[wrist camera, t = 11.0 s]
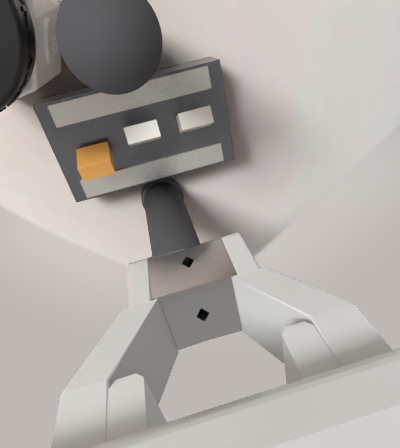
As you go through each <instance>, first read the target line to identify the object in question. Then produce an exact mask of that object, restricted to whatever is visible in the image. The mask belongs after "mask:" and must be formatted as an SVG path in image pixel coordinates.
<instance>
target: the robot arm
mask: <svg viewBox="0 0 400 448" xmlns="http://www.w3.org/2000/svg"><path fill="white" fill-rule="evenodd" d="M242 330H243V332H244V333H245V334H246V335H248V336H249V337H250V338H252V339H253V340H254V341H256V342H257V343H258V344H259V345H261V346H262V347H264V348H265V349H266V350H267V351H269V352H270V353H271V354H273V355H274V356H275V357H276V358H278V359H279V360H280V361H281V362H283V363H284V364H285V372H286V382H287V384H286V385H283V386H280V387H277V388H274V389H271V390H267V391H265V392H261V393H258V394H255V395H252V396H249V397H246V398H242V399H239V400H236V401H233V402H230V403H227V404H224V405H220V406H218V407H214V408H211V409H208V410H205V411H202V412H199V413H196V414H192V415H189V416H186V417H183V418H180V419H177V420H174V421H170V422H166V420H165V418H164V416H163V414H162V412H161V410H160V408H159V406H158V405H159V402H160V399H161V397H162V394H163V392H164V389H165V386H166V384H167V381H168V378H169V376H170V373H171V370H172V368H173V365H174V363H175V360H176V357H177V355H178V350H180V349H183V348H186V347H189V346H192V345H195V344H198V343H201V342H203V341H207V340H209V339H213V338H217V337H220V336H224V335H228V334H231V333H235V332H238V331H242ZM52 448H400V348H398V349H395V350H392V349H391V348H390V346H389V345H388V344H387V343H386V342H385V340H384V339H383V338H382V337H381V336H380V334H379V333H378V332H377V331H376V330H375V329H374V327H373V326H372V325H371V324H370V322H369V321H368V320H367V319H366V318H365V316H364V315H363V314H362V313H361V312H360V310H359V309H358V308H357V307H356V306H355V304H352V303H350V302H348V301H345V300H343V299H340V298H338V297H336V296H333V295H331V294H329V293H326V292H324V291H322V290H319V289H317V288H315V287H312V286H310V285H308V284H305V283H303V282H300V281H298V280H296V279H294V278H291V277H289V276H286V275H284V274H282V273H279V272H277V271H274V270H272V269H270V268H268V267H262V268H260V267H259V266H258V264H257V262H256V260H255V259H254V257H253V255H252V253H251V252H250V250H249V248H248V246H247V245H246V243H245V241H244V239H243V238H242V236H241V234H240V233H239V232H235V233H232V234H229V235H226V236H223V237H220V238H218V239H215V240H212V241H208V242H205V243H202V244H198V245H195V246H192V247H189V248H185V249H180V250H176V251H172V252H169V253H165V254H161V255H158V256H154V257H150V258H148V259H143V260H139V261H136V262H133V263H129V265H128V307H127V308H125V309H122V310H121V312H120V313H119V315H118V316H117V317H116V319H115V320H114V322H113V323H112V324H111V326H110V327H109V328H108V330H107V331H106V333H105V334H104V336H103V337H102V338H101V340H100V341H99V343H98V344H97V345H96V347H95V348H94V350H93V351H92V352H91V354H90V355H89V356H88V358H87V359H86V360H85V362H84V363H83V365H82V366H81V367H80V369H79V370H78V372H77V373H76V374H75V376H74V377H73V378H72V380H71V381H70V383H69V384H68V385H67V387H66V388H65V390H64V391H63V392H62V394H61V396H60V402H59V408H58V413H57V419H56V425H55V430H54V436H53V442H52Z"/></svg>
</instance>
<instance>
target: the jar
mask: <svg viewBox="0 0 400 448" xmlns="http://www.w3.org/2000/svg"><path fill="white" fill-rule="evenodd" d="M59 7H60V4H59V2H58V1H57V0H0V112H1V111H3V110H4V109H6V106H10V105H11V104H12V103H13V102H14V101H15V100H16V99H18V98H20V97H23V96H25V95H27V94H30V93H32V92H34V91H36V90H37V89H39V88H40V87H42V86H43V85H44V84H46V83H47V82H49V81H50V80H51V79H53V78H54V77H56V76H57V75H58V74H60V73H61V53H60V50H59V47H58V43H57V38H56V19H57V14H58V11H59Z"/></svg>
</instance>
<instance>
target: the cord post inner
mask: <svg viewBox="0 0 400 448" xmlns="http://www.w3.org/2000/svg"><path fill="white" fill-rule="evenodd" d="M56 38H57V43H58V47H59V50H60V53H61V55H62V58H63V60H64V62H65V63H66V65H67V67H68V68H69V69H70V71H71V72H72V73H73V74H74V75H75V76H76V77H77V79H79V80H80V81H81V82H82V83H83V84H85V85H86V86H88V87H90V88H92V89H93V90H96V91H98V92H101V93H105V94H111V95H121V94H127V93H130V92H133V91H135V90H137V89H139V88H140V87H142V86H143V85H144V84H145V83H147V82H148V81H149V79H150V78H151V77H152V76H153V74H154V72H155V71H156V69H157V67H158V64H159V61H160V58H161V52H162V34H161V28H160V25H159V22H158V19H157V17H156V14H155V12H154V10H153V9H152V7H151V5H150V4H149V3H148V1H147V0H63V1H62V3H61V5H60V7H59V11H58V14H57V19H56Z"/></svg>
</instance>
